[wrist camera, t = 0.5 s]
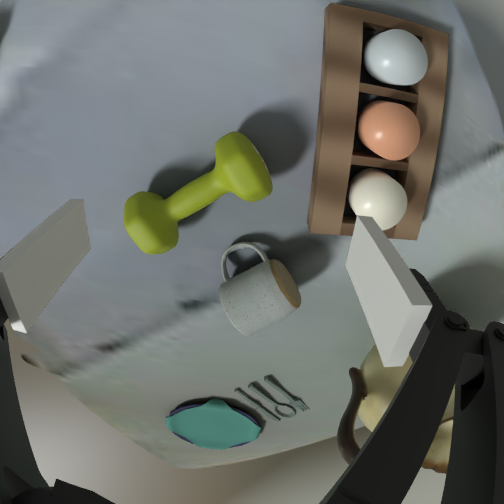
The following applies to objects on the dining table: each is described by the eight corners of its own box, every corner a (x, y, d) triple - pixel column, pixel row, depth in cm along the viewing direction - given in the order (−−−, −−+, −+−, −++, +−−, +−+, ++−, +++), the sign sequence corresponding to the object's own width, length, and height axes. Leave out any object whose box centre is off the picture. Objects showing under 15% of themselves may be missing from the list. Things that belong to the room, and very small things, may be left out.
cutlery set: (150, 412, 62) (148, 420, 60) (263, 365, 53) (264, 375, 51) (210, 447, 70) (209, 455, 68) (317, 411, 61) (319, 420, 59)
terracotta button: (358, 96, 30) (370, 98, 27) (407, 105, 30) (423, 109, 27) (353, 148, 33) (363, 156, 30) (400, 155, 33) (415, 164, 30)
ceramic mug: (301, 284, 44) (308, 320, 37) (252, 310, 46) (251, 348, 40) (258, 225, 40) (257, 255, 33) (206, 257, 42) (196, 291, 36)
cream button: (350, 165, 34) (361, 175, 31) (398, 171, 34) (412, 181, 31) (343, 214, 37) (352, 228, 34) (388, 218, 37) (400, 232, 34)
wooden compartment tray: (324, 8, 27) (330, 2, 24) (436, 36, 27) (448, 34, 24) (307, 222, 40) (310, 233, 37) (407, 229, 40) (416, 240, 37)
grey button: (363, 28, 27) (375, 22, 23) (412, 41, 27) (429, 37, 23) (360, 78, 29) (372, 78, 26) (409, 89, 29) (425, 91, 26)
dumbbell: (243, 121, 34) (240, 130, 28) (278, 180, 37) (282, 202, 31) (130, 192, 38) (107, 215, 32) (165, 242, 41) (150, 271, 35)
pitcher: (466, 346, 51) (516, 448, 29) (361, 398, 58) (384, 509, 36) (449, 264, 42) (536, 388, 20) (316, 333, 49) (338, 483, 27)
